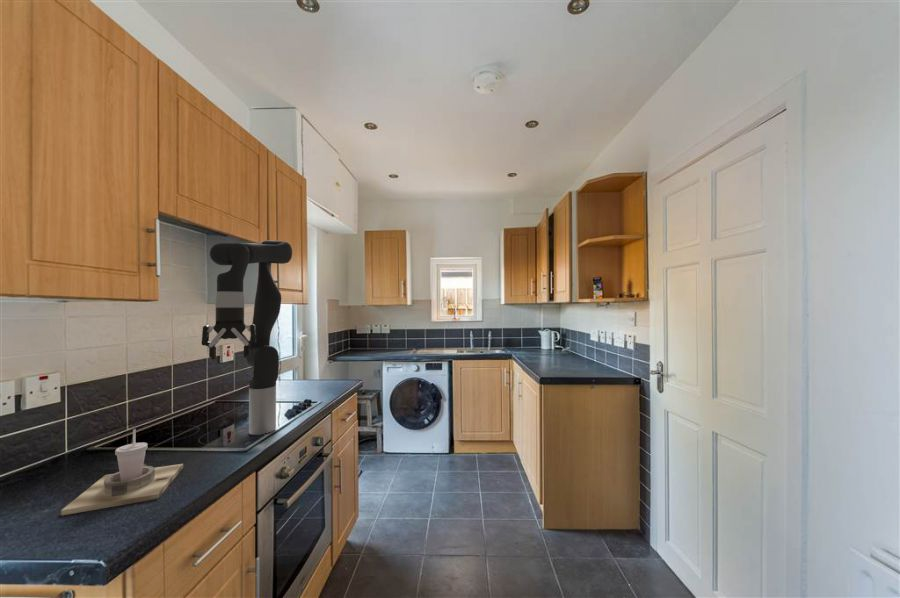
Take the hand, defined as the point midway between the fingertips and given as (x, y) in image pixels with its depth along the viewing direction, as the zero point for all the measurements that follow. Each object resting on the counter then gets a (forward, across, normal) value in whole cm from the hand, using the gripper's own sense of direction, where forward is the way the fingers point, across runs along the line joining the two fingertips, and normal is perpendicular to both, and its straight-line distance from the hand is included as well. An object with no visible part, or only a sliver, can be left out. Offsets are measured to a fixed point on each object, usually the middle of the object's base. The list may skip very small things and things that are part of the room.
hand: (229, 358), depth 107 cm
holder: (+32, +21, +8) cm, 39 cm away
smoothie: (+31, +21, +8) cm, 38 cm away
